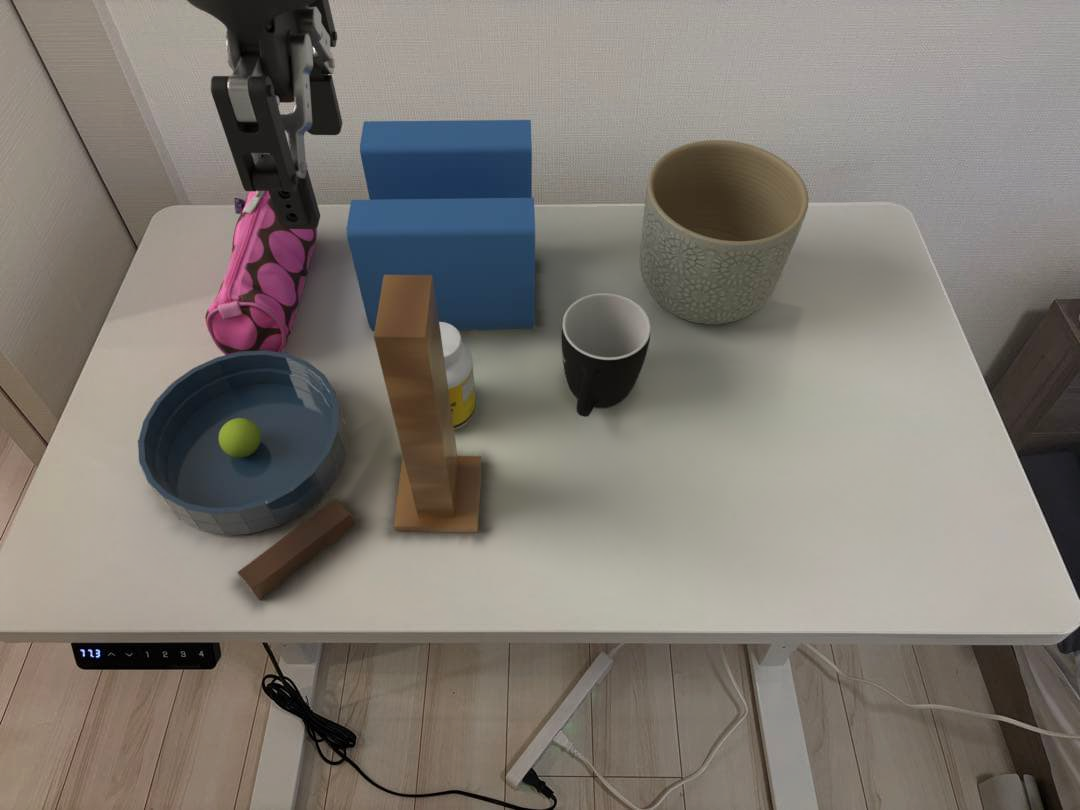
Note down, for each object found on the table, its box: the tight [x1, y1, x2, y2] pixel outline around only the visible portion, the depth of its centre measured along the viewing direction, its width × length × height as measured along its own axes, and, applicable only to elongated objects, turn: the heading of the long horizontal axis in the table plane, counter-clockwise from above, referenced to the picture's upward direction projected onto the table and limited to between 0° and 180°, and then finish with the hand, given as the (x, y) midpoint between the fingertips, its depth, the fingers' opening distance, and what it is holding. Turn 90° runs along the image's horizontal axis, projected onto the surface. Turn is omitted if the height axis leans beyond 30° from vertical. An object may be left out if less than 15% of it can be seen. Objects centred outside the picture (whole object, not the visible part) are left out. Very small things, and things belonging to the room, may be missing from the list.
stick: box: [237, 497, 356, 601], centre depth 75 cm, size 11×2×2 cm, turn 135°
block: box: [346, 119, 536, 332], centre depth 88 cm, size 18×18×18 cm
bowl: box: [137, 350, 349, 536], centre depth 80 cm, size 19×19×5 cm
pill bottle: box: [439, 322, 477, 431], centre depth 81 cm, size 6×6×12 cm
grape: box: [219, 418, 261, 458], centre depth 80 cm, size 4×4×4 cm
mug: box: [560, 292, 652, 418], centre depth 83 cm, size 12×9×10 cm
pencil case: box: [204, 191, 319, 356], centre depth 91 cm, size 21×10×10 cm, turn 2°
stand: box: [373, 275, 483, 533], centre depth 68 cm, size 8×8×28 cm
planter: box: [639, 139, 809, 325], centre depth 90 cm, size 17×17×15 cm
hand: (314, 176), depth 48 cm, fingers open, 8 cm apart
